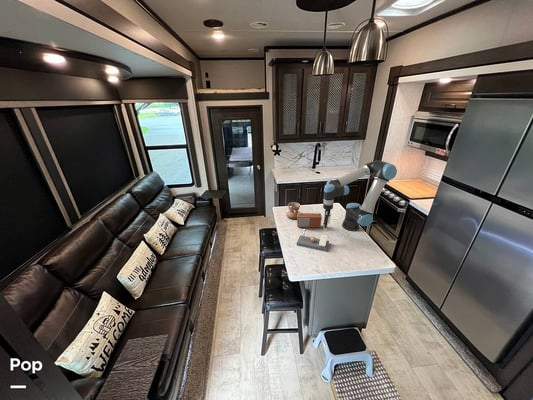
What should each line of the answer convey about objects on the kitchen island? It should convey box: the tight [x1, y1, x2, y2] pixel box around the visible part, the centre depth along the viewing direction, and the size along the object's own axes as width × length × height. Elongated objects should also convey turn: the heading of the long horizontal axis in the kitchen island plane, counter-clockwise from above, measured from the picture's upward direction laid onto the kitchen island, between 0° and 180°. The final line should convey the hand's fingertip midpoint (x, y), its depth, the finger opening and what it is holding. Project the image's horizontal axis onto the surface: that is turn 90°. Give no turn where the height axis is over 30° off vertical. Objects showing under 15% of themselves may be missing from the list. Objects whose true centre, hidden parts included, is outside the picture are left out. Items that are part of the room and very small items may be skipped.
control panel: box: [296, 212, 323, 228], centre depth 200 cm, size 21×7×15 cm, turn 85°
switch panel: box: [296, 235, 330, 252], centre depth 176 cm, size 24×12×4 cm, turn 67°
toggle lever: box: [302, 228, 307, 239], centre depth 179 cm, size 2×2×8 cm
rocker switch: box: [319, 234, 328, 247], centre depth 172 cm, size 5×11×1 cm, turn 157°
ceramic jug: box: [285, 201, 301, 220], centre depth 219 cm, size 18×14×14 cm
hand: (326, 227), depth 180 cm, fingers open, 13 cm apart
